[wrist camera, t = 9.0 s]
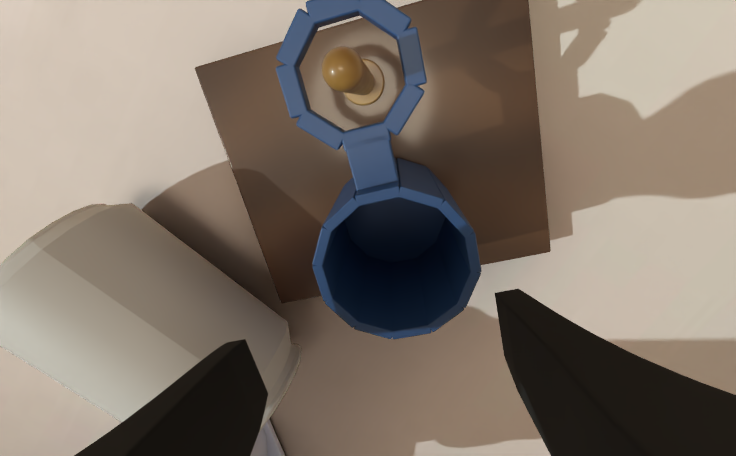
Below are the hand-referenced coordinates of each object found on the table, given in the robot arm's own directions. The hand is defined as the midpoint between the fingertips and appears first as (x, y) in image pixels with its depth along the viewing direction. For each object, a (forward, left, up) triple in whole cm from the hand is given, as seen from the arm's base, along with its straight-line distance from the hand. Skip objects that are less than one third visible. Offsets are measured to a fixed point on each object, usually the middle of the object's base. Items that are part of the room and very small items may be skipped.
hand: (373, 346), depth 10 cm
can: (+4, +14, -6) cm, 16 cm away
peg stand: (+4, -1, -9) cm, 10 cm away
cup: (+4, -1, -8) cm, 9 cm away
